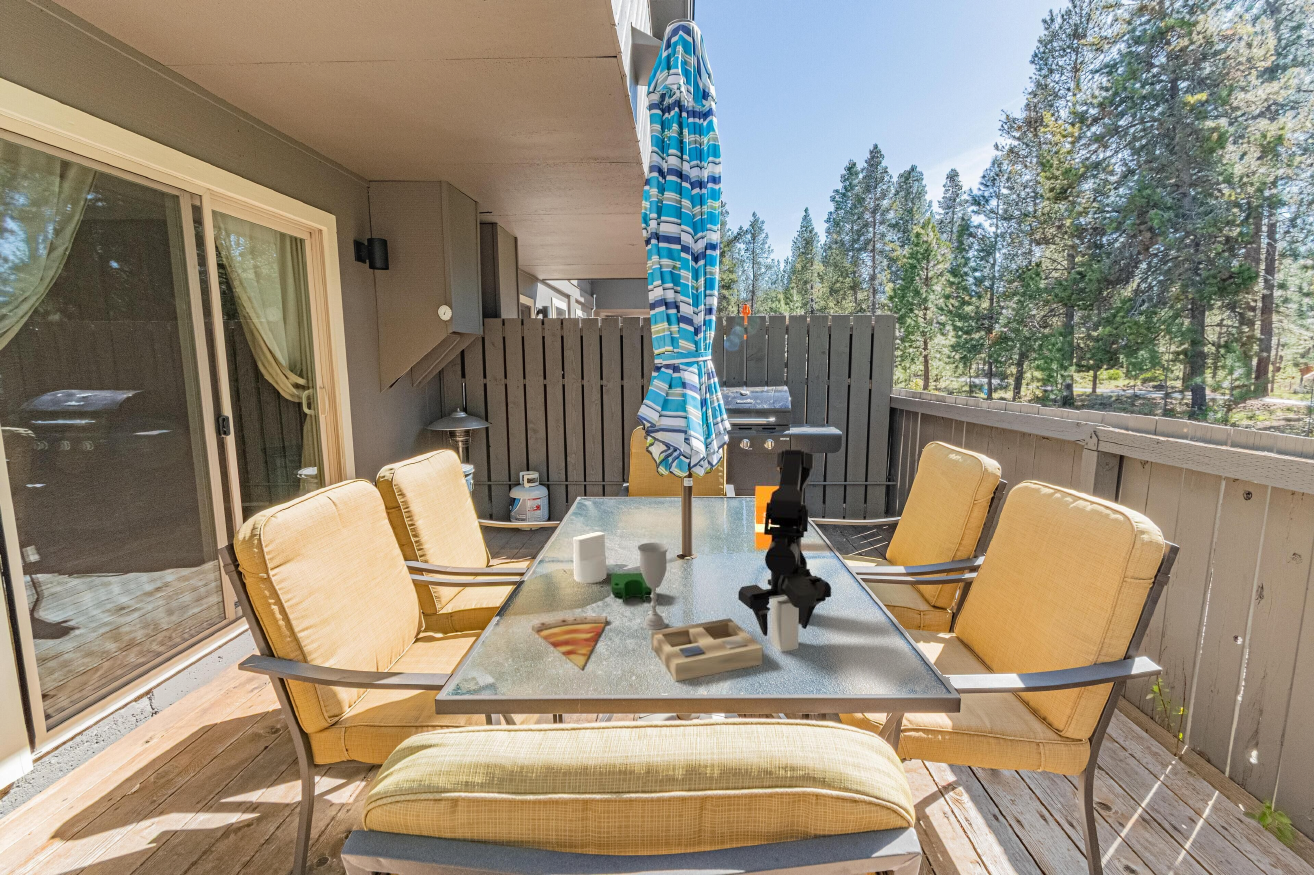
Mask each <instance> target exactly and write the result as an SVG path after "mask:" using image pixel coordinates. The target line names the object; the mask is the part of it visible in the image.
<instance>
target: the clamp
mask: <svg viewBox="0 0 1314 875" xmlns="http://www.w3.org/2000/svg"><path fill="white" fill-rule="evenodd" d="M610 578H611V579H610V582H611V583H610V589H611V594H612V596H613V597H614V598H616V597H617V598H618V597H621V598H622V603H623V604H625V603H626V599H627V598H628V597H641V598H642V603H646V596H645V595H651V594H652V589H651V588H649V587H648V586H647V584H646V582H645V580H644V578H643V575H642V572H635V573H634V572H629V573H625V572H624V573H612V574H611V576H610Z"/></svg>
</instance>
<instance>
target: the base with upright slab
mask: <svg viewBox="0 0 1314 875" xmlns="http://www.w3.org/2000/svg"><path fill="white" fill-rule="evenodd" d="M605 536H606V534H605V532H602V531H595V532H591V533H586V534H583V535H578V536H575V537H573V540H572V543H573V544H572V545H573V558H572V559H573V578H574V579H575V580H576V581H575V580H574V579H573V580H574V581H575V582H576V583H577V582H578V583H581V584H596V582H597V583H600V582H603V581H604V580H603V579H605V578H607V556H606V555H607V554H606V542H605V541H606V538H605ZM602 580H603V581H602ZM605 580H606V579H605ZM599 581H600V582H599Z"/></svg>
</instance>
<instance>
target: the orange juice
mask: <svg viewBox="0 0 1314 875" xmlns="http://www.w3.org/2000/svg"><path fill="white" fill-rule="evenodd" d="M778 488H779V485H777V486H774V485H773V486H772V485H770V486H768V485H764V486H763V485H755V497H754V498H755V501H754V503H755V505H754V510H755V511H754V547H756V548H755V550H756V549H768V548H769V546H770V543H771V535H764V527H765V516H766V505H767V502H770V498H771V494H772V492H773V491H775V490H776V489H778ZM770 521H771V520H770ZM770 521H769V528H768V529H770V526H775V527H779V526H776V525H771V524H770Z"/></svg>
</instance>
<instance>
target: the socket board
mask: <svg viewBox="0 0 1314 875" xmlns="http://www.w3.org/2000/svg"><path fill="white" fill-rule="evenodd" d="M650 633H651V634H650V635H651V636H650V637H651V649H652V650H653V652H654V653H655V654H656V656H657V657H658V659H659V660H660V661H661V663H662V665H663V666H664V667H665V668H666V670H667V671H668V673H669V674H670V676H671V677H672V679H673V680H674V681H675V682H680V681H685V680H691V679H696V678H699V677H705V676H709V675H715V674H719V673H720V674H721V673H725V672H729V671H734V670H735V671H736V670H739V669H744V668H749V667H755V666H759V665H760V666H761V665H763V646H762V645H761V644H760V643H758V642H757V640H755V639H754V638H753V637H752V636H751V635H750V634H748V632H746V631H745V629H743V628H742V627H741V626H739V624H737V623H736V622H735V621H734V620H733V619H732V618H730V617H729V618H723V619H718V620H710V621H705V622H700V623H694V624H688V625H687V624H686V625H682V626H676V627H669V628H662V629H658V630H651V632H650Z"/></svg>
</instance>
